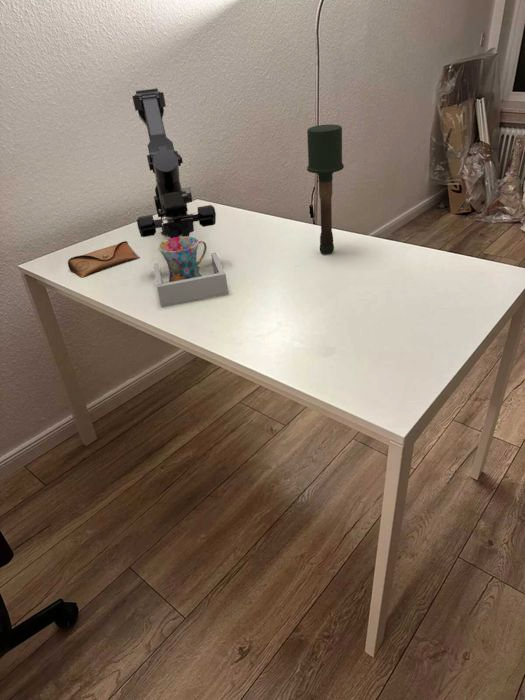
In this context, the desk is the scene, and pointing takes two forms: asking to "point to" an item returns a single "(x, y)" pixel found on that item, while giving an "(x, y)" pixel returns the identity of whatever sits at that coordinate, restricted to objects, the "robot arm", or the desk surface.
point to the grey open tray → (192, 286)
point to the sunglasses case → (101, 259)
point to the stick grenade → (325, 173)
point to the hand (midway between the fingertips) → (184, 253)
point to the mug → (182, 257)
